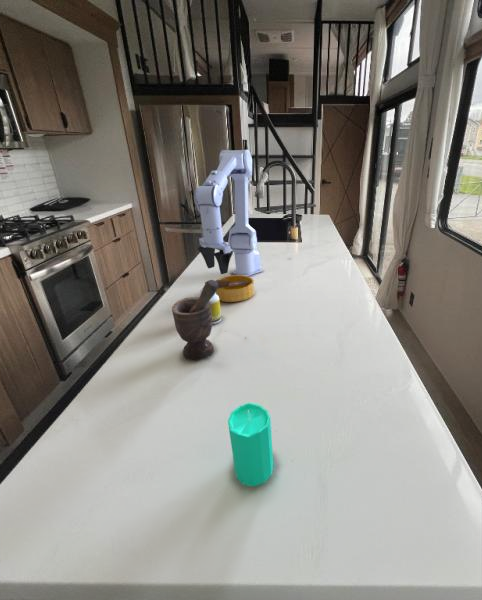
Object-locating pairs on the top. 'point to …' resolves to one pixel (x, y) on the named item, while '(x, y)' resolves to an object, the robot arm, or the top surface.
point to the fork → (226, 283)
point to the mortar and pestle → (195, 322)
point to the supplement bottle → (215, 309)
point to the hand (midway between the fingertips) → (217, 270)
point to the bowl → (236, 289)
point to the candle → (251, 444)
